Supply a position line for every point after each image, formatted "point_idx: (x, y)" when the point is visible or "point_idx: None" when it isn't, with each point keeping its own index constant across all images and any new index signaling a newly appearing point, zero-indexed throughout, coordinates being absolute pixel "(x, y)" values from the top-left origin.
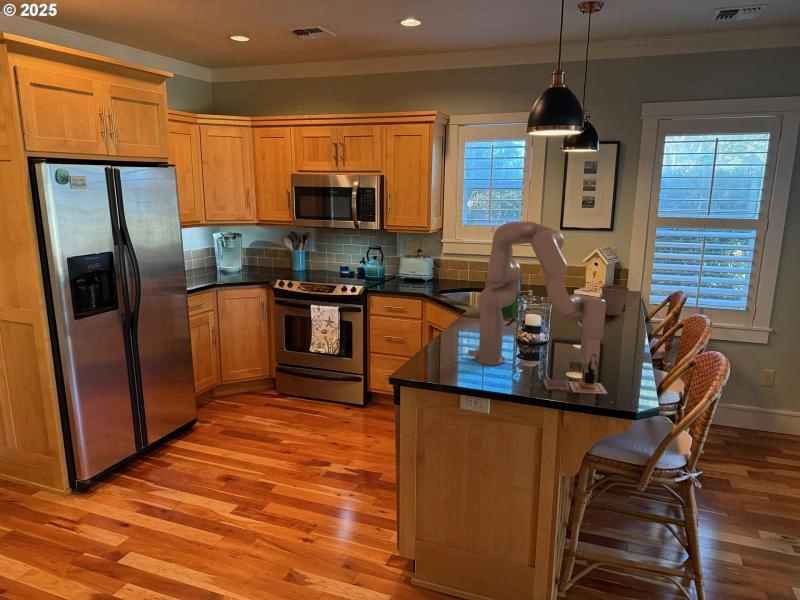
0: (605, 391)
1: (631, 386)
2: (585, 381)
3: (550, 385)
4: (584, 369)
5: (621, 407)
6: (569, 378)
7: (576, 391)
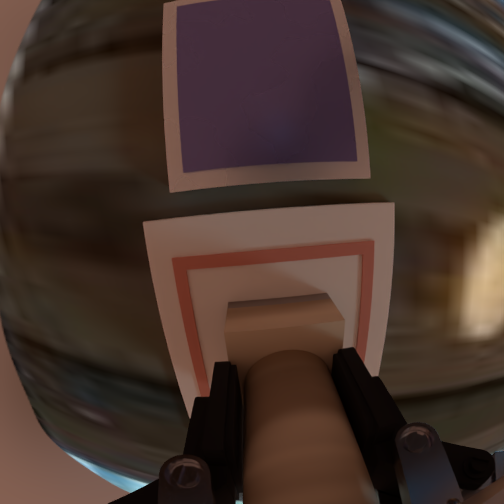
0: None
1: None
2: (214, 373)
3: (178, 25)
4: (291, 461)
5: (59, 424)
6: (460, 231)
7: (150, 255)
